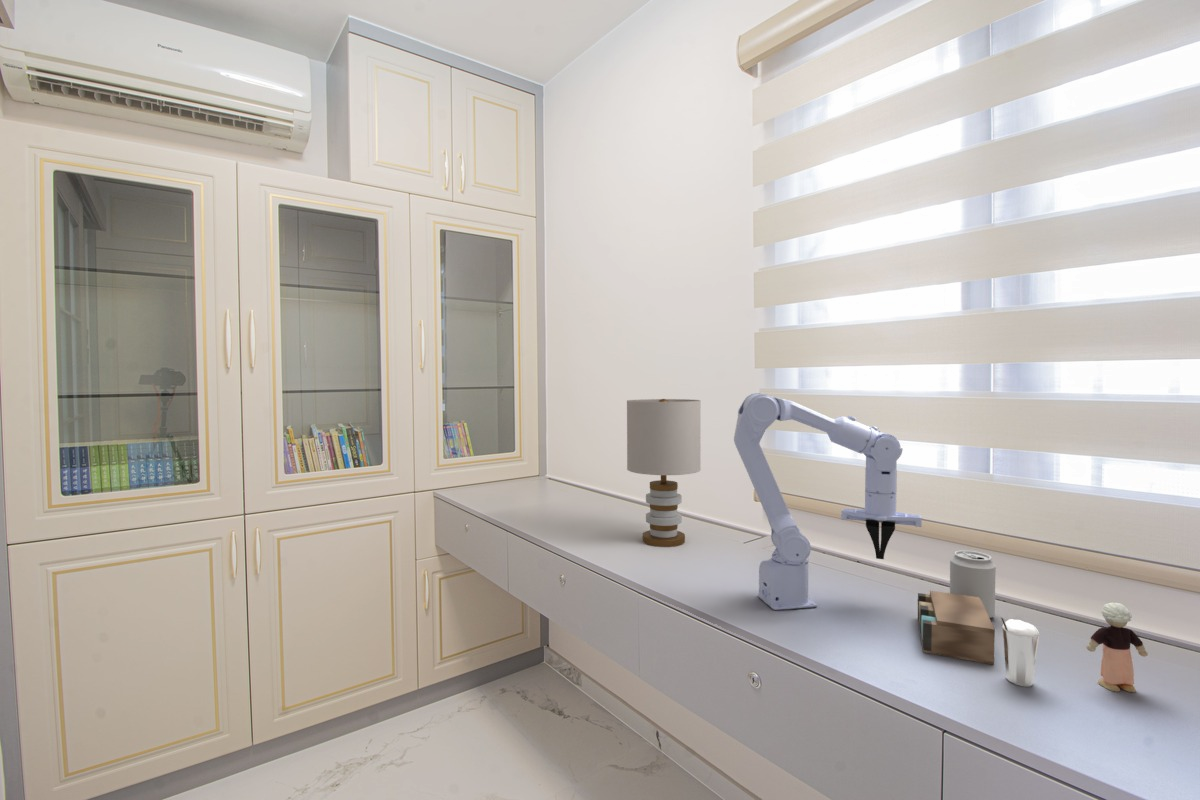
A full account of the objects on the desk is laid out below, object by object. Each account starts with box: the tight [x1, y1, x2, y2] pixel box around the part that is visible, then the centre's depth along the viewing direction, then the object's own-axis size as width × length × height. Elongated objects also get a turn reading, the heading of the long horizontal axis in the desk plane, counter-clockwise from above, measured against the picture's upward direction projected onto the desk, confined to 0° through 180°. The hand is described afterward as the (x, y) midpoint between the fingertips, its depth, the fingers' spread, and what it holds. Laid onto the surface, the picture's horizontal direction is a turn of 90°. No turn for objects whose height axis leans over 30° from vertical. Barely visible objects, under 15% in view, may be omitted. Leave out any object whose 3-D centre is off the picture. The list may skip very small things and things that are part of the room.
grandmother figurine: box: [1086, 602, 1149, 693], centre depth 85 cm, size 8×4×13 cm, turn 92°
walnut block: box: [917, 590, 996, 665], centre depth 101 cm, size 10×15×6 cm, turn 154°
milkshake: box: [1000, 616, 1040, 688], centre depth 87 cm, size 4×5×10 cm
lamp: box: [626, 398, 702, 548], centre depth 163 cm, size 21×21×41 cm
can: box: [949, 549, 997, 619], centre depth 111 cm, size 8×8×12 cm
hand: (879, 557), depth 116 cm, fingers closed
